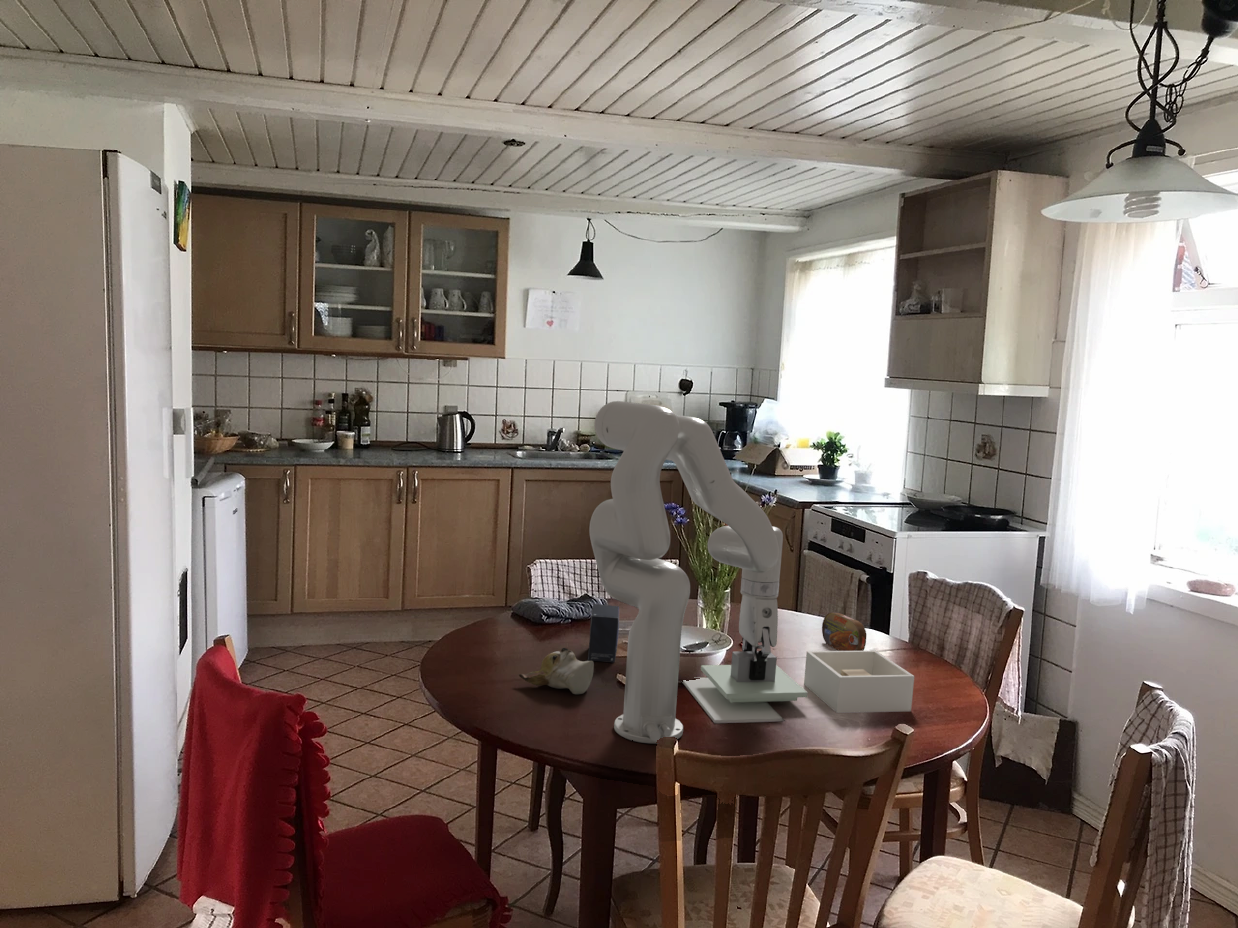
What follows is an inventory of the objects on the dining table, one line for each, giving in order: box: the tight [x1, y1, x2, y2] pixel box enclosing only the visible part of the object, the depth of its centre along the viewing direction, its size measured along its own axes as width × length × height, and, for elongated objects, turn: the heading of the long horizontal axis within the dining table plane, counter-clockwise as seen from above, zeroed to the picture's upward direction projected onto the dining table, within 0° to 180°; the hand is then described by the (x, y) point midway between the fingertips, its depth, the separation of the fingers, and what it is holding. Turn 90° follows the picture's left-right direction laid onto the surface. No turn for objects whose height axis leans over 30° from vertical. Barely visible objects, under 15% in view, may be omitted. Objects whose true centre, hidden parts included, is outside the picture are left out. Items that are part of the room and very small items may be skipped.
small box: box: [587, 603, 620, 663], centre depth 212 cm, size 11×6×10 cm, turn 179°
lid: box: [700, 650, 808, 702], centre depth 189 cm, size 17×17×7 cm
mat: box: [682, 676, 786, 724], centre depth 189 cm, size 23×23×1 cm
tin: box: [821, 611, 867, 651], centre depth 227 cm, size 15×3×8 cm, turn 22°
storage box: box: [803, 650, 915, 714], centre depth 192 cm, size 16×16×8 cm
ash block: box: [841, 669, 870, 676], centre depth 192 cm, size 5×5×5 cm
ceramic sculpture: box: [518, 647, 595, 695], centre depth 189 cm, size 11×9×15 cm
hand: (752, 674), depth 189 cm, fingers closed on lid, 4 cm apart
